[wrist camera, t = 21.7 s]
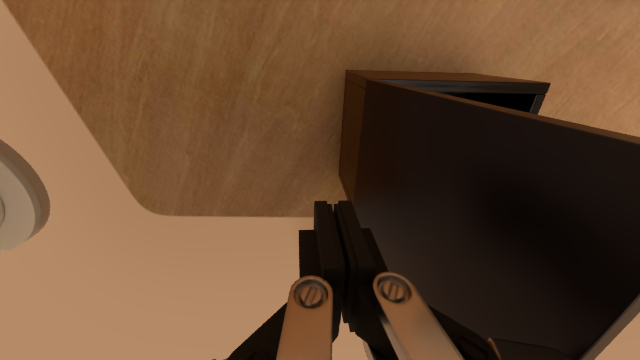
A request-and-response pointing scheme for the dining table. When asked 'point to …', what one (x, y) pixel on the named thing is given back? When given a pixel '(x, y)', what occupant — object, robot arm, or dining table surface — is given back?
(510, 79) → the box
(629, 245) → the lid
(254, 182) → the dining table surface
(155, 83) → the dining table surface
